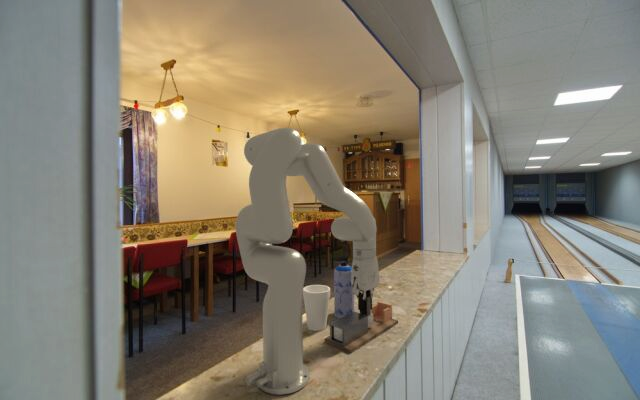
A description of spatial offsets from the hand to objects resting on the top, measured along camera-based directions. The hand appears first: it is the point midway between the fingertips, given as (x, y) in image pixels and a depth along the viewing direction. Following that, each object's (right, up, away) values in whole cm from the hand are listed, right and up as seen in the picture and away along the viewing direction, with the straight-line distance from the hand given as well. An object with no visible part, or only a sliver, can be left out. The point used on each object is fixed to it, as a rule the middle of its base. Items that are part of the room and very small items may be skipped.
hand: (365, 309), depth 94 cm
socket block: (+7, -6, +7) cm, 12 cm away
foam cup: (-16, -8, +4) cm, 18 cm away
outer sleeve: (-6, -6, -6) cm, 10 cm away
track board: (-1, -7, -1) cm, 7 cm away
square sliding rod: (-4, -5, -4) cm, 8 cm away
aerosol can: (-6, -8, +14) cm, 17 cm away
